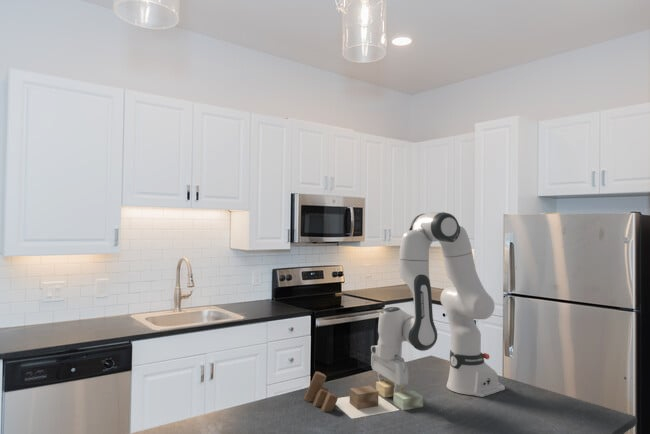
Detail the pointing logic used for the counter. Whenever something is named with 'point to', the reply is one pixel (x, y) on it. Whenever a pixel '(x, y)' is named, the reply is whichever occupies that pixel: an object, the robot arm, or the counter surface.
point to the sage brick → (408, 400)
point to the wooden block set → (320, 393)
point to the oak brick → (386, 388)
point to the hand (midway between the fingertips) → (388, 389)
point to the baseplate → (354, 413)
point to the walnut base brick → (364, 397)
